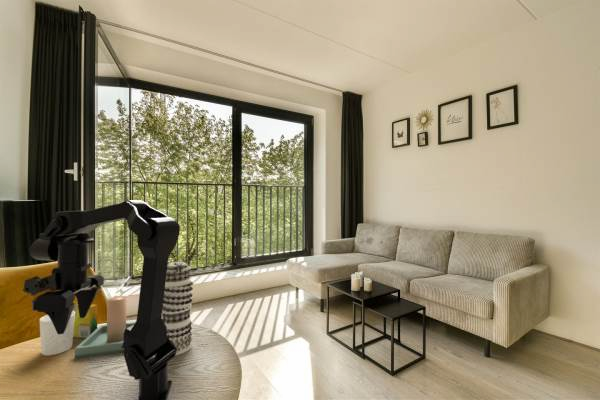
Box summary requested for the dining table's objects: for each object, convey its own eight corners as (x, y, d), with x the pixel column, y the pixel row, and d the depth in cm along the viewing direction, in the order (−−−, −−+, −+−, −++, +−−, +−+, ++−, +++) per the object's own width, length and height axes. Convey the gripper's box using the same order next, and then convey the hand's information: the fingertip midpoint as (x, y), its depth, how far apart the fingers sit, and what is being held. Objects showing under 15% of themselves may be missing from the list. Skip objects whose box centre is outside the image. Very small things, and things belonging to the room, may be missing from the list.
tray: (134, 350, 79) (135, 341, 79) (74, 357, 75) (75, 348, 76) (150, 328, 94) (150, 320, 94) (100, 333, 90) (100, 325, 90)
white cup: (53, 358, 75) (54, 322, 76) (31, 355, 77) (32, 320, 77) (81, 344, 83) (82, 311, 83) (61, 341, 85) (61, 309, 85)
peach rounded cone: (116, 343, 82) (116, 301, 82) (102, 342, 83) (102, 300, 83) (130, 335, 87) (130, 296, 87) (116, 334, 87) (116, 295, 88)
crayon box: (97, 334, 89) (98, 298, 90) (89, 338, 86) (89, 302, 87) (78, 332, 91) (78, 297, 91) (69, 337, 88) (70, 300, 88)
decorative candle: (178, 358, 75) (178, 267, 75) (151, 354, 77) (151, 266, 78) (199, 342, 84) (199, 261, 84) (174, 338, 86) (174, 259, 86)
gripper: (58, 256, 74) (57, 313, 74) (1, 272, 56) (0, 349, 56) (104, 254, 77) (104, 309, 76) (64, 269, 59) (64, 342, 58)
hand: (72, 325), depth 67 cm, fingers open, 9 cm apart
